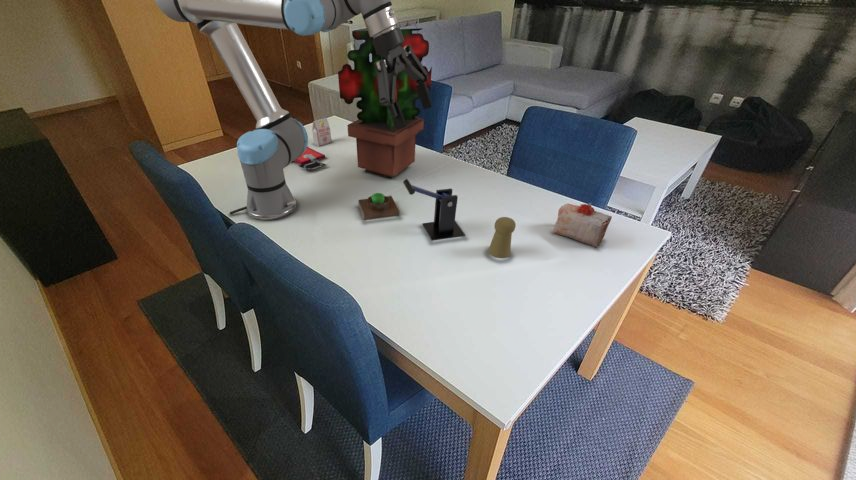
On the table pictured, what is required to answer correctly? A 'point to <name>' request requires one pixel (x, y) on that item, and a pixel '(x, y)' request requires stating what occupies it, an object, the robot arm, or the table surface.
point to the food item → (582, 223)
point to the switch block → (378, 208)
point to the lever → (422, 190)
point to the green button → (378, 198)
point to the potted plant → (382, 108)
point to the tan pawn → (502, 237)
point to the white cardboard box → (321, 132)
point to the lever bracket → (444, 218)
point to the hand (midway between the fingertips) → (415, 117)
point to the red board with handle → (310, 159)
